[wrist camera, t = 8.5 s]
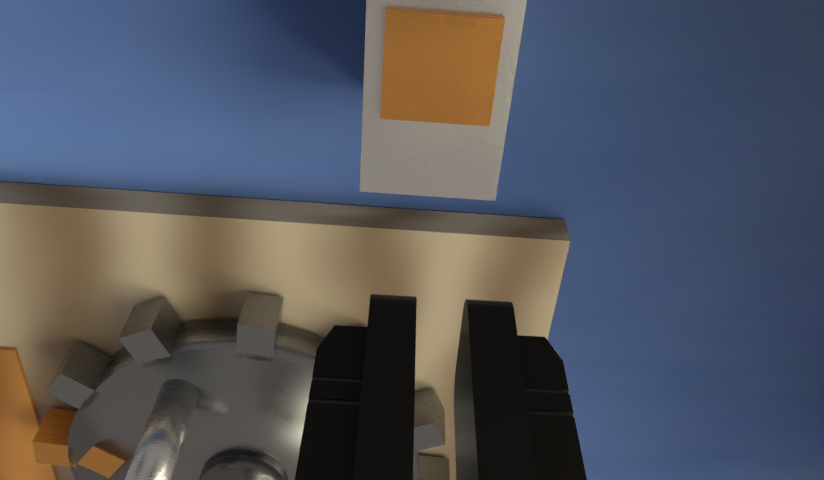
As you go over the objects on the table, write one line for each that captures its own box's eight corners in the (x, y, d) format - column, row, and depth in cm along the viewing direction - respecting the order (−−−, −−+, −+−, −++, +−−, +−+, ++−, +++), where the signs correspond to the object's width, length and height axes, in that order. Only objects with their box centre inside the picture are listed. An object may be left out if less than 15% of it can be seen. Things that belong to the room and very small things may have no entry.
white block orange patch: (513, -140, 24) (541, -85, 18) (481, 98, 28) (495, 204, 22) (384, -150, 24) (369, -99, 18) (373, 91, 28) (359, 195, 22)
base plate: (564, 219, 31) (571, 244, 30) (485, 575, 46) (487, 603, 45) (-185, 169, 30) (-214, 191, 29) (-18, 547, 46) (-32, 574, 44)
